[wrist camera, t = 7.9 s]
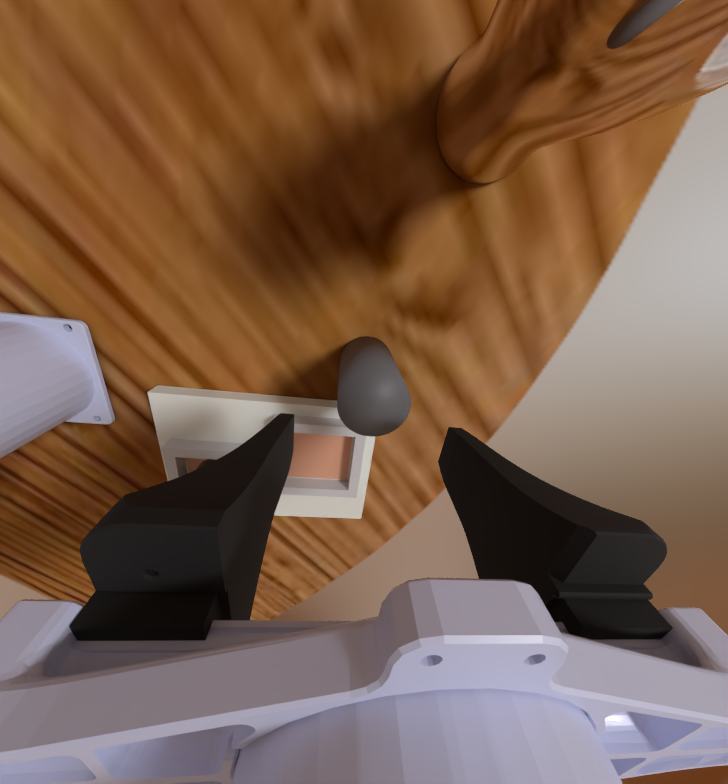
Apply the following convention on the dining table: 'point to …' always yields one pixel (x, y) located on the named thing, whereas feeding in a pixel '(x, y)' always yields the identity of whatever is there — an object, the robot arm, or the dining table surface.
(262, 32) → the dining table surface
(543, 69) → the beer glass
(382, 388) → the peg
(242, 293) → the dining table surface
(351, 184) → the dining table surface
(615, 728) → the robot arm
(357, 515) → the board
